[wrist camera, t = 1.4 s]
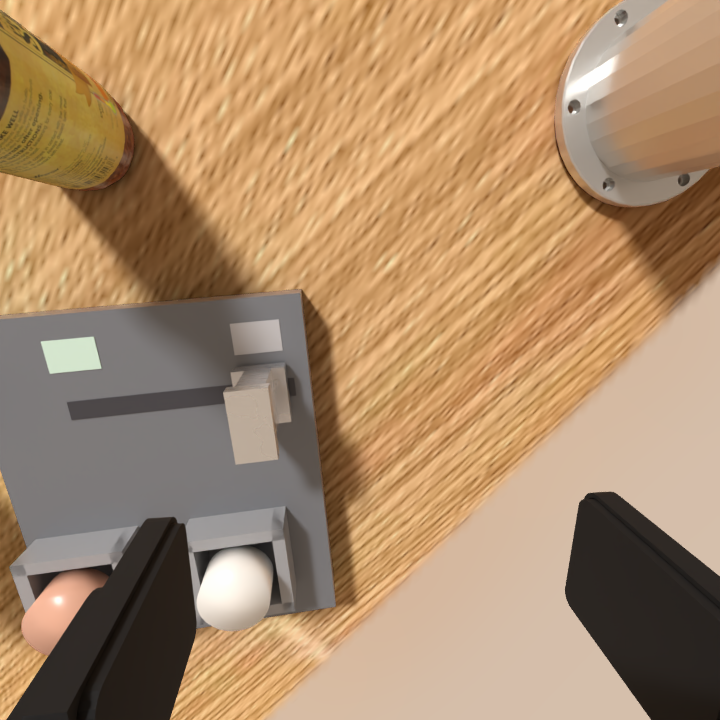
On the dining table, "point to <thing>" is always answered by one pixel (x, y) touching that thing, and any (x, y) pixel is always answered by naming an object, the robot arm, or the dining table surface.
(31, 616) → the terracotta button
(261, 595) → the offwhite button
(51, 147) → the sauce bottle
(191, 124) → the dining table surface
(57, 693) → the robot arm
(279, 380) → the slider knob
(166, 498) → the control panel
